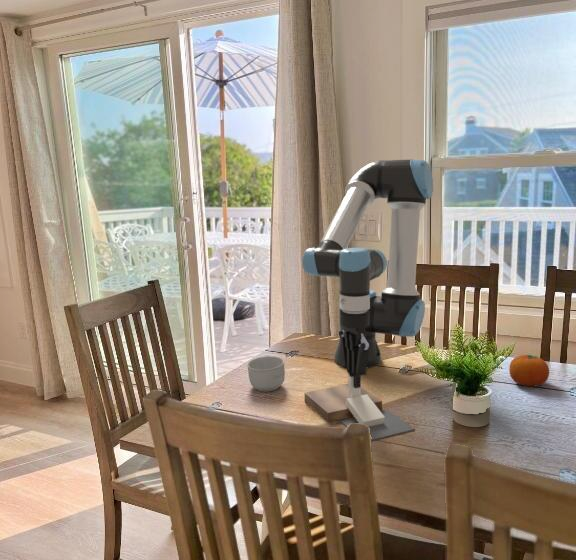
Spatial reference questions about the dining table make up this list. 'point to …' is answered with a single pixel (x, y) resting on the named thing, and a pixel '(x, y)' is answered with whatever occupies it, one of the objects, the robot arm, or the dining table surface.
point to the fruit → (529, 370)
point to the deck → (335, 402)
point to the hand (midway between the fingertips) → (354, 397)
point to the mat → (385, 426)
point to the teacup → (266, 373)
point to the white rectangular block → (365, 410)
